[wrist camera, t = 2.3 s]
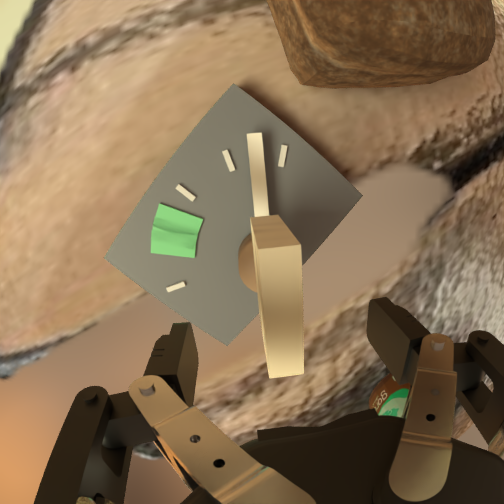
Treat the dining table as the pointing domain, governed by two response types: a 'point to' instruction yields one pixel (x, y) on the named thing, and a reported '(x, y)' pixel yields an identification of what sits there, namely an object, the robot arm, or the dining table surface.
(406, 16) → the bread
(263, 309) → the dial needle
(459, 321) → the dining table surface
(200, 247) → the gauge plate
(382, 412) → the food container
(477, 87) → the dining table surface
